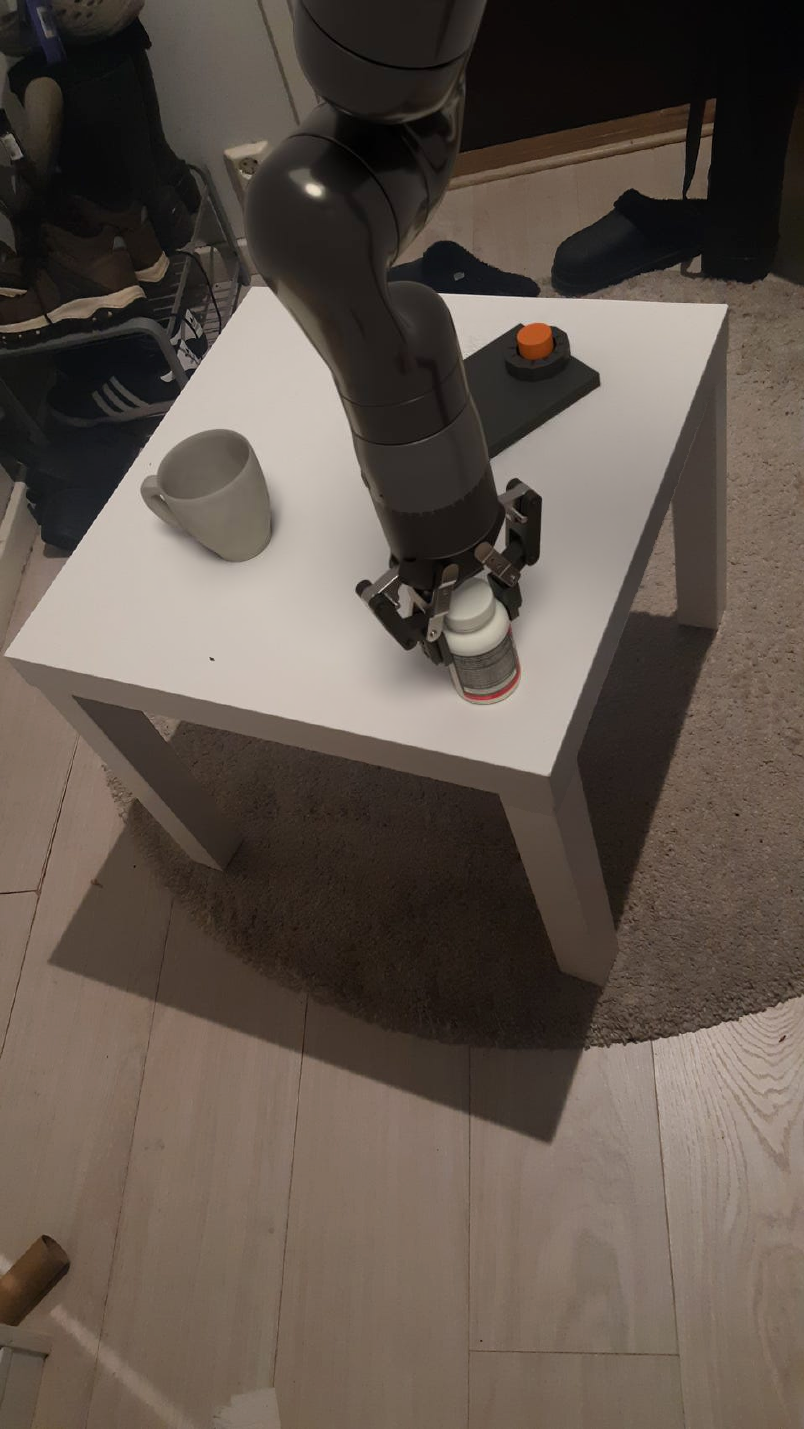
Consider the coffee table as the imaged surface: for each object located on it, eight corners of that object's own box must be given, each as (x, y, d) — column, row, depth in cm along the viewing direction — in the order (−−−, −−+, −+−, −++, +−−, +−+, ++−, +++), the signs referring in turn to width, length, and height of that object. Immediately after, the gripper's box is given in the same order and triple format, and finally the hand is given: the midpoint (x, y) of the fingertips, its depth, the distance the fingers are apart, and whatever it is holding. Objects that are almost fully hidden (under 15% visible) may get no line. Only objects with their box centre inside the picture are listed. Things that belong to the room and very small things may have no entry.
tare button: (539, 334, 94) (537, 318, 93) (560, 347, 92) (558, 331, 91) (512, 351, 93) (510, 335, 92) (533, 365, 92) (531, 349, 90)
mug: (299, 504, 93) (263, 425, 85) (274, 576, 88) (234, 499, 81) (186, 507, 96) (142, 431, 89) (157, 577, 92) (108, 503, 84)
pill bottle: (536, 671, 76) (518, 590, 68) (489, 718, 74) (465, 640, 67) (486, 639, 79) (463, 557, 71) (439, 683, 77) (411, 605, 70)
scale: (526, 331, 99) (522, 305, 96) (605, 382, 92) (603, 355, 90) (393, 418, 96) (385, 394, 94) (464, 477, 89) (457, 452, 87)
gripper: (359, 562, 55) (425, 723, 69) (559, 427, 58) (584, 609, 71) (295, 497, 60) (369, 660, 73) (484, 373, 62) (521, 555, 75)
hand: (475, 634), depth 72 cm, fingers closed on pill bottle, 5 cm apart
